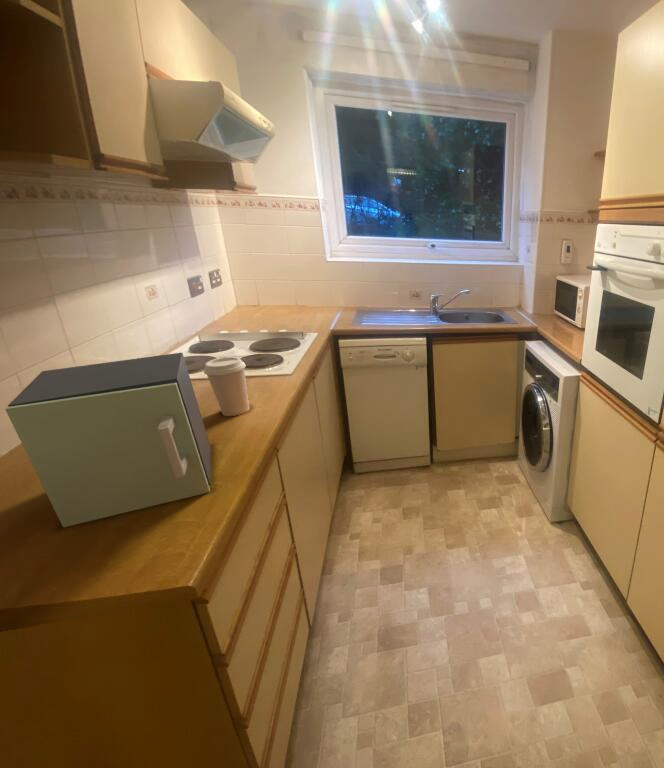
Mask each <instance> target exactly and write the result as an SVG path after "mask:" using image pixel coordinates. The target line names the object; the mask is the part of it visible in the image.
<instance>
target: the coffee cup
mask: <svg viewBox="0 0 664 768" xmlns="http://www.w3.org/2000/svg"><path fill="white" fill-rule="evenodd" d="M246 366H247V365H246V363H245V362H244V361H243V360H242V359H241V358H240V357H238V356H223V357H218V358H214V359H211V360H209V361H206V363H205V366H204V368H203V373H204V375H206V376H207V379H208V381H209V383H210V386H211V388H212V391H213V393H214V396H215V399H216V401H217V403H218V405H219V408H220V411H221V414H222V415H223V416H225V417H235V416H239V415H242V414H245V413H247V412H248V411H250V409H251V407H250V400H249V394H248V387H247V386H248V385H247V380H246V373H245V368H246Z"/></svg>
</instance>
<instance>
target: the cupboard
mask: <svg viewBox="0 0 664 768" xmlns="http://www.w3.org/2000/svg"><path fill="white" fill-rule="evenodd" d="M187 366H188V365H187V363H186V360H185V357H184V353H183V352H175V353H168V354H160V355H159V354H158V355H153V356H144V357H137V358H131V359H130V358H129V359H123V360H115V361H107V362H101V363H93V364H85V365H79V366H78V365H77V366H70V367H65V368H55V369H49V370H48V369H47V370H42V371H41V372H40V373H39V374H38V375H36V377H34V379H32V381H31V382H30V383H29V384H28V385H27V386H25V388H24V389H23V390H22V391H20V392H19V394H18V395H17V396H16V397H15V398H14V399H13V400H11V402H10V403H9V404H8V405H7V407H11V406H18V405H25V404H32V403H39V402H46V401H52V400H59V399H66V398H73V397H80V396H87V395H94V394H101V393H108V392H115V391H122V390H129V389H136V388H143V387H150V386H157V385H164V384H171V383H177V386H178V389H179V392H180V395H181V398H182V402H183V405H184V408H185V411H186V414H187V418H188V421H189V424H190V427H191V430H192V434H193V437H194V440H195V443H196V446H197V449H198V453H199V456H200V459H201V462H202V465H203V469H204V472H205V475H206V478H207V481H208V485H209V486H210V485H211V444H210V440H209V437H208V433H207V431H206V430H207V429H206V427H205V424H204V420H203V417H202V416H203V415H202V413H201V410H200V406H199V403H198V400H197V397H196V393H195V390H194V387H193V384H192V380H191V376H190V374H189V370H188V367H187Z"/></svg>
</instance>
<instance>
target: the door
mask: <svg viewBox="0 0 664 768" xmlns="http://www.w3.org/2000/svg"><path fill="white" fill-rule="evenodd" d="M4 410H5V412H6V414H7V416H8V418H9V420H10V422H11V424H12V426H13V429H14V430H15V432H16V435H17V437H18V439H19V440H20V442H21V444H22V447H23V448H24V451H25V452H26V455H27V457H28V459H29V461H30V463H31V465H32V467H33V469H34V471H35V474H36V475H37V478H38V479H39V481H40V483H41V485H42V487H43V490H44V491H45V493H46V494H45V495H46V496H47V498H48V499H49V502H50V504H51V506H52V508H53V510H54V511H55V514H56V516H57V518H58V520H59V522H60V524H61V526H62V528H67V527H71V526H75V525H79V524H84V523H88V522H91V521H92V522H93V521H95V520H100V519H104V518H108V517H114V516H116V515H120V514H124V513H129V512H133V511H137V510H141V509H146V508H151V507H154V506H158V505H162V504H166V503H170V502H174V501H178V500H183V499H187V498H191V497H195V496H200V495H204V494H207V493H210V492H211V489H210V485H208V481H207V478H206V475H205V472H204V469H203V465H202V462H201V459H200V456H199V453H198V449H197V446H196V443H195V440H194V437H193V434H192V430H191V427H190V424H189V421H188V418H187V414H186V411H185V408H184V405H183V402H182V398H181V395H180V392H179V389H178V386H177V383H171V384H164V385H157V386H150V387H143V388H136V389H129V390H122V391H115V392H108V393H101V394H94V395H87V396H80V397H73V398H66V399H59V400H52V401H46V402H39V403H32V404H25V405H18V406H11V407H8V406H7V407H5V409H4Z"/></svg>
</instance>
